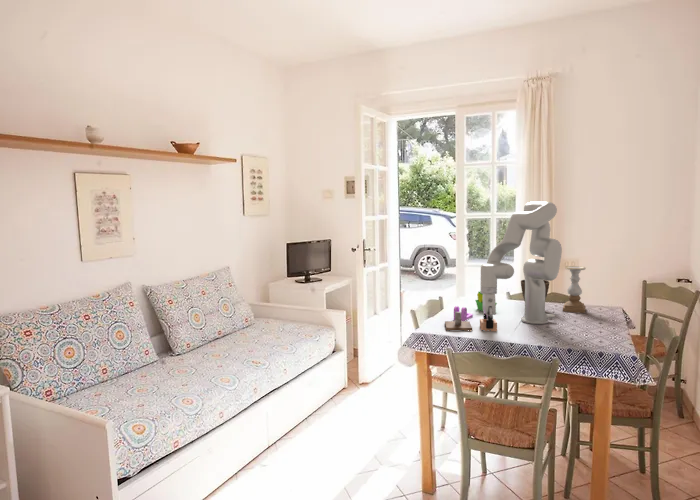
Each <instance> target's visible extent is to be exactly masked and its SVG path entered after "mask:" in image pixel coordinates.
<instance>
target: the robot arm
mask: <svg viewBox="0 0 700 500" xmlns="http://www.w3.org/2000/svg"><path fill="white" fill-rule="evenodd" d="M557 213H558V208H557V206H556V204H554V202H551V201H530V202H527V203H525V204H524V207H523V211H516V212H514V213H512V215H510V218H509V222H508V223H507V227H506V230H505V233H504V236H503V237H502V240H501V241H500V242H499V243H498V244H497V245H495V247H494V248H493V250H492V251H491V252H490V254H489V256H488V259H487V262H486V263H484V264H482V265H481V266H480V290H479V292H480V293H482V294H483V311H484V312H483V311H482V312H483V318H482V319H487V320H486V328H487V329H493V319H494V315H496V314H497V312H496V311H497V304H496V303H497V302H496V295H497V294H498V289H497V288H498V280H507V279H510V278H512V277H513V276H514V275H515V269H514V266H513V265H511V264H509V263H506V262H501V261H502V259H503V258H504V256H505V255H506V254H507V253H509V252H511V251H513V250H516V249H517V248H520V246H521V245H522V241H523V238H524V236H525V232H526V230H528V231H531V235H530V240H529V241H530V242H529V243H530V244H529V253H530V254H531V255H532V256H534V257H539V258H543V259H539V258H529V259H528V260H526V261H525V262H524V264H523V265H522V266H523V269H522V270H523V276H524V280H525V301H524V316H523V317H521V322H523V323H525V324H530V325H544V324H548V322H549V320H548V319H555V318H556V315H555V314H551V313H546V300H545V283H544V281H543V280H546V281H549V282H550V281H554V280H555V279H556V278H557V277H558V275H559V271H560V267H561V266H560V265H561V259H562V253H563V248H562V244H561V242H560V241H559V240H557V239H556V238H550V237H551V224H550V221H551V220H553V219H554V218H555V217H556V215H557Z"/></svg>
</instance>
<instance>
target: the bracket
mask: <svg viewBox="0 0 700 500" xmlns="http://www.w3.org/2000/svg"><path fill="white" fill-rule="evenodd" d="M453 307H454V308H453V320H454V321H455V312H461V321H465V320H466V321H468V320H469V318H470V319H472V318H473V316H474V315H473V313H471V312H468V309H467V307H464V306H463V307H461V309H460V307H459V306H458V305H457V306H456V305H455V306H453ZM460 310H461V311H460ZM467 319H468V320H467Z"/></svg>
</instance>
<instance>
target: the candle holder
mask: <svg viewBox="0 0 700 500" xmlns="http://www.w3.org/2000/svg"><path fill="white" fill-rule="evenodd" d="M564 268H565V270H568V271H569V272H570V274H571V276H570V277H569V280H570V282H571V283H570V285H569V287H568V288H567V293H568V295H569V296H568V299H569V300H568V301H565V303H564V304H563V306H562V312H565V313H575V314H576V313H577V314H578V313H579V314H585V313H586V307H587V306H586V305H585V303H584V302H582V301H581V299H582V298H581V295H582V294H583V289H582V288H581V285H580V284H579V282H580V281H581V277H580V274H581V272H582V271H585V270H586V268H587V267H585V266H581V265H567V266H565V267H564Z"/></svg>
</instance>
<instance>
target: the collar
mask: <svg viewBox="0 0 700 500" xmlns="http://www.w3.org/2000/svg"><path fill="white" fill-rule="evenodd" d="M486 320H487V319H483V318H479V328H480V330H481V331H482V330H485V331H484V332H497V331H498V321H497V320H496V319H495V318H493V329H487V328H486ZM487 330H489V331H487ZM490 330H491V331H490Z"/></svg>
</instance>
